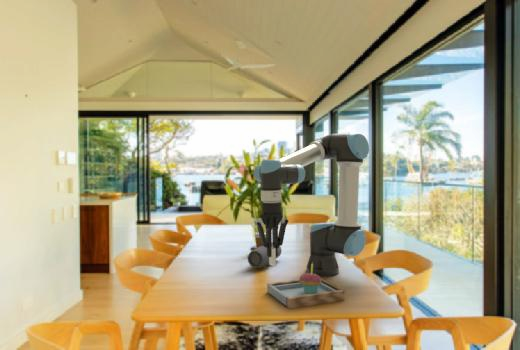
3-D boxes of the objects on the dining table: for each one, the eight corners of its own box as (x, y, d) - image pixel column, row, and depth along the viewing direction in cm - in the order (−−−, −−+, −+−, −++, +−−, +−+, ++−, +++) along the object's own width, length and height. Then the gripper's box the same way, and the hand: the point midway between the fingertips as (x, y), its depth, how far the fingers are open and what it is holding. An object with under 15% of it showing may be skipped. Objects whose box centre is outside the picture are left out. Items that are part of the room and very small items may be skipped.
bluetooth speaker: (266, 259, 208) (266, 240, 207) (282, 260, 204) (282, 242, 203) (246, 269, 187) (246, 248, 187) (263, 271, 183) (263, 250, 183)
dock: (318, 285, 162) (318, 277, 162) (345, 300, 144) (345, 290, 144) (267, 292, 153) (267, 283, 153) (289, 308, 135) (289, 298, 135)
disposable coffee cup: (260, 251, 225) (260, 230, 225) (274, 253, 220) (274, 232, 220) (251, 254, 218) (251, 233, 217) (265, 256, 212) (265, 235, 212)
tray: (317, 286, 159) (317, 279, 159) (337, 297, 145) (337, 289, 145) (268, 292, 151) (268, 285, 151) (285, 305, 137) (286, 297, 137)
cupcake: (325, 294, 146) (325, 262, 146) (304, 296, 144) (304, 264, 144) (315, 287, 155) (315, 257, 154) (295, 289, 152) (295, 258, 152)
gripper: (258, 203, 136) (260, 270, 137) (291, 201, 141) (292, 265, 142) (251, 201, 143) (252, 264, 144) (282, 199, 148) (283, 260, 149)
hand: (272, 265), depth 143 cm, fingers closed
